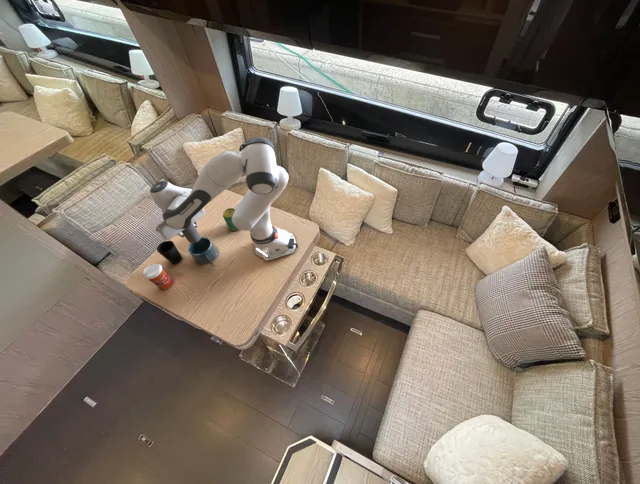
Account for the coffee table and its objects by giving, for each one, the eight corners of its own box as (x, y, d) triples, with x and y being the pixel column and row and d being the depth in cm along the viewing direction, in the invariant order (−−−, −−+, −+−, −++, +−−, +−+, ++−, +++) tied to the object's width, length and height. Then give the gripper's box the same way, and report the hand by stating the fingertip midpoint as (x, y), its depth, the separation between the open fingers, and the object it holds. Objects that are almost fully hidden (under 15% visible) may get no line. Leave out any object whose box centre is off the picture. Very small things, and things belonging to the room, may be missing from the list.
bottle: (198, 243, 134) (185, 224, 123) (186, 243, 134) (171, 224, 123) (202, 234, 138) (190, 214, 126) (191, 233, 138) (177, 214, 126)
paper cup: (164, 294, 133) (148, 280, 123) (154, 286, 136) (138, 272, 125) (178, 281, 138) (164, 267, 127) (168, 274, 140) (154, 259, 130)
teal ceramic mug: (192, 254, 148) (184, 244, 141) (212, 243, 153) (206, 233, 146) (203, 272, 142) (196, 263, 135) (224, 260, 147) (218, 251, 140)
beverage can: (244, 220, 165) (238, 206, 155) (242, 230, 160) (236, 217, 150) (230, 221, 164) (223, 207, 155) (227, 231, 159) (220, 218, 150)
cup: (178, 267, 143) (167, 254, 134) (165, 264, 144) (153, 251, 135) (187, 254, 148) (177, 242, 139) (174, 252, 149) (163, 239, 140)
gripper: (158, 231, 114) (173, 249, 125) (200, 201, 125) (211, 221, 136) (149, 224, 116) (165, 242, 127) (192, 196, 127) (203, 215, 138)
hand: (189, 231), depth 131 cm, fingers closed on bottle, 6 cm apart
